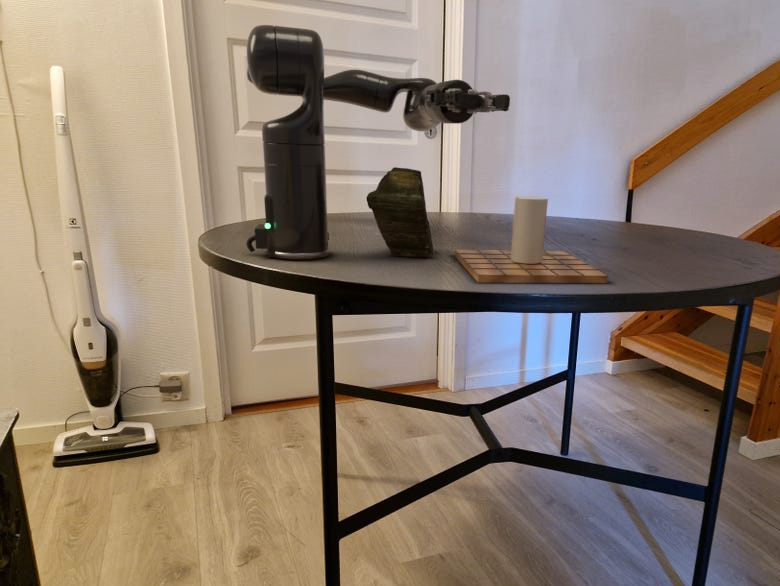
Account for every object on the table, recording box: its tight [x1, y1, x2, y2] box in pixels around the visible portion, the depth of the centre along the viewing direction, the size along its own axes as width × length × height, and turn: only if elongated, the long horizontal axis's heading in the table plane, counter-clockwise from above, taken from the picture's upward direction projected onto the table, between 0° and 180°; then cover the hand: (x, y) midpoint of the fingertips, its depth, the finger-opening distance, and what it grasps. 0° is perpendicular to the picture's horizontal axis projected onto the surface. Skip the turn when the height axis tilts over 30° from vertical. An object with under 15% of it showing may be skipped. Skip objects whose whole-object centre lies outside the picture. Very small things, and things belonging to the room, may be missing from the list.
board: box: [454, 248, 609, 284], centre depth 100 cm, size 20×20×1 cm
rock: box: [366, 167, 434, 259], centre depth 104 cm, size 12×9×15 cm
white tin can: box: [510, 195, 549, 264], centre depth 98 cm, size 5×5×10 cm
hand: (484, 99), depth 104 cm, fingers open, 8 cm apart
